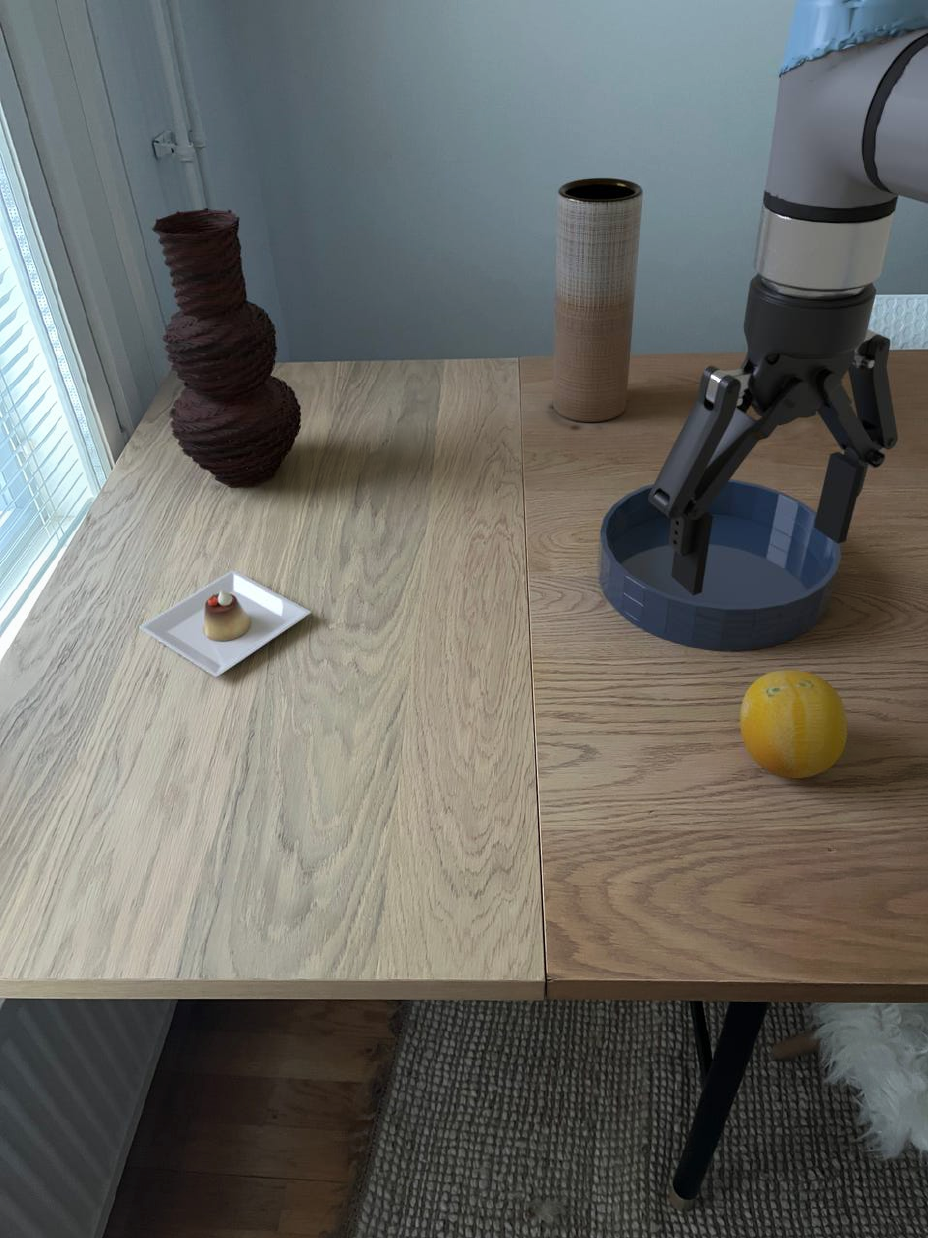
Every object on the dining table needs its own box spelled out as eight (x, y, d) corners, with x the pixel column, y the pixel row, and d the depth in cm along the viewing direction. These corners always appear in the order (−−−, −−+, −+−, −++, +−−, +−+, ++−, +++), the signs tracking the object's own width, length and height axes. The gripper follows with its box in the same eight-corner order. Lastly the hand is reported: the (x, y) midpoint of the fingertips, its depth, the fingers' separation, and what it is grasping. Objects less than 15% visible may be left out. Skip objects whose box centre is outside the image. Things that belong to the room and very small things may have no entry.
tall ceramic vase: (594, 383, 134) (605, 172, 116) (641, 409, 127) (661, 189, 110) (537, 403, 130) (540, 187, 112) (583, 430, 123) (594, 205, 106)
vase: (176, 509, 112) (106, 248, 93) (193, 446, 124) (134, 204, 105) (307, 498, 112) (264, 238, 94) (311, 437, 124) (274, 195, 105)
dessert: (140, 635, 94) (128, 597, 90) (235, 577, 101) (226, 540, 98) (218, 686, 87) (207, 646, 84) (313, 620, 94) (306, 582, 91)
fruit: (716, 727, 81) (729, 657, 76) (804, 712, 82) (823, 642, 77) (760, 806, 74) (778, 735, 69) (856, 789, 75) (880, 717, 70)
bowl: (825, 528, 104) (834, 488, 101) (835, 666, 86) (847, 624, 83) (613, 506, 109) (616, 468, 106) (582, 633, 91) (584, 592, 88)
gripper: (916, 227, 65) (850, 493, 79) (609, 297, 57) (593, 579, 71) (1009, 258, 60) (920, 537, 73) (684, 339, 52) (651, 636, 65)
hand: (759, 558), depth 72 cm, fingers open, 13 cm apart
